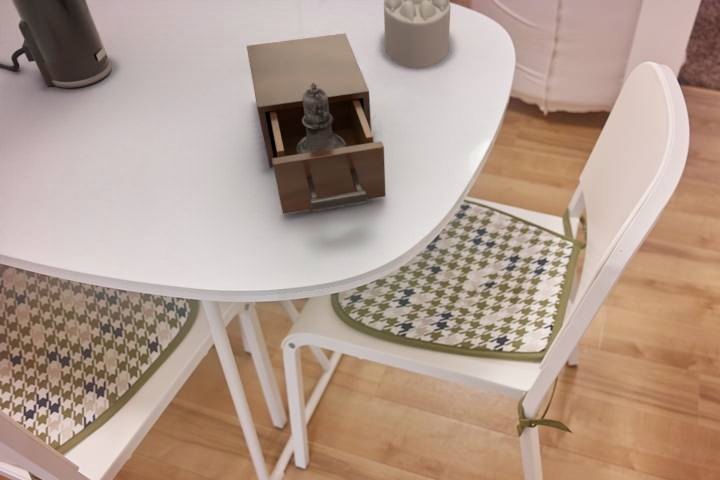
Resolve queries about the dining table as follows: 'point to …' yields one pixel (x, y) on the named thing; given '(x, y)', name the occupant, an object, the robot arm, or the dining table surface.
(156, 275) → the dining table surface
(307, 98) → the grey stone knobbed piece
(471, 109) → the dining table surface
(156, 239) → the dining table surface
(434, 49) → the lumpy-topped squat cylinder
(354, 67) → the cabinet
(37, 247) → the dining table surface
